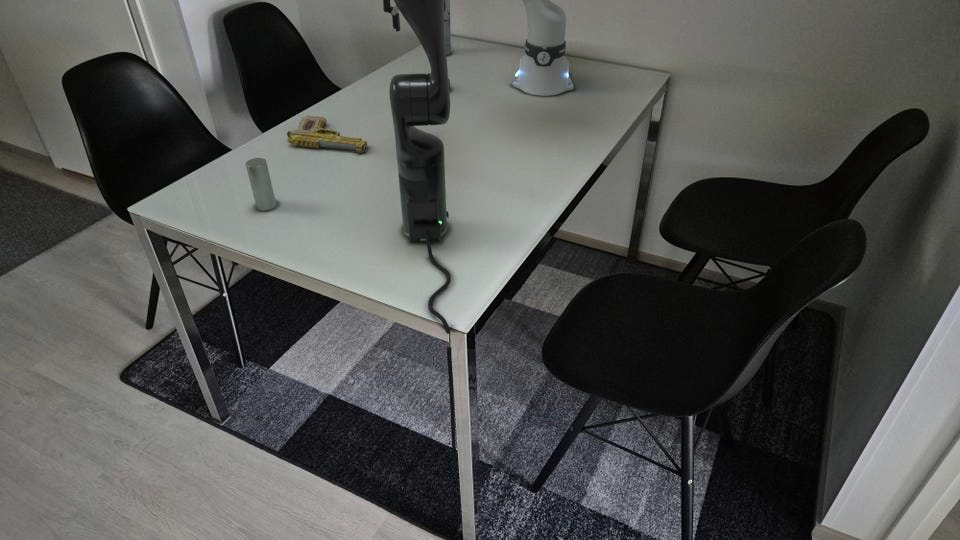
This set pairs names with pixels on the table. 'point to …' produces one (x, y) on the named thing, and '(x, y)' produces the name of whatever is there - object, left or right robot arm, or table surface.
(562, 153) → the table surface
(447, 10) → the spray paint can
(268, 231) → the table surface
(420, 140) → the left robot arm
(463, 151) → the table surface
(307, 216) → the table surface
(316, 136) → the handgun
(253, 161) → the can
